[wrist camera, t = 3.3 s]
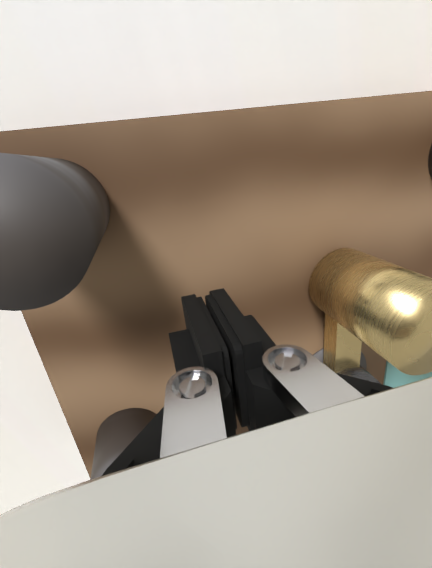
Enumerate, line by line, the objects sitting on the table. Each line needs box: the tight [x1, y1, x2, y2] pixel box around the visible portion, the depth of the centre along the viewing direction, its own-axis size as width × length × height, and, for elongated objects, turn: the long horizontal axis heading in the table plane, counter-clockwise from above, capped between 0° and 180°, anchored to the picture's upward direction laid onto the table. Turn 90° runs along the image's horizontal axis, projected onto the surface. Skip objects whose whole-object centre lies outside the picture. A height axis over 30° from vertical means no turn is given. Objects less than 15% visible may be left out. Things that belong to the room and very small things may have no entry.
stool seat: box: [0, 91, 432, 480], centre depth 13 cm, size 16×22×8 cm
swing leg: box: [309, 248, 432, 384], centre depth 13 cm, size 9×3×5 cm, turn 7°
